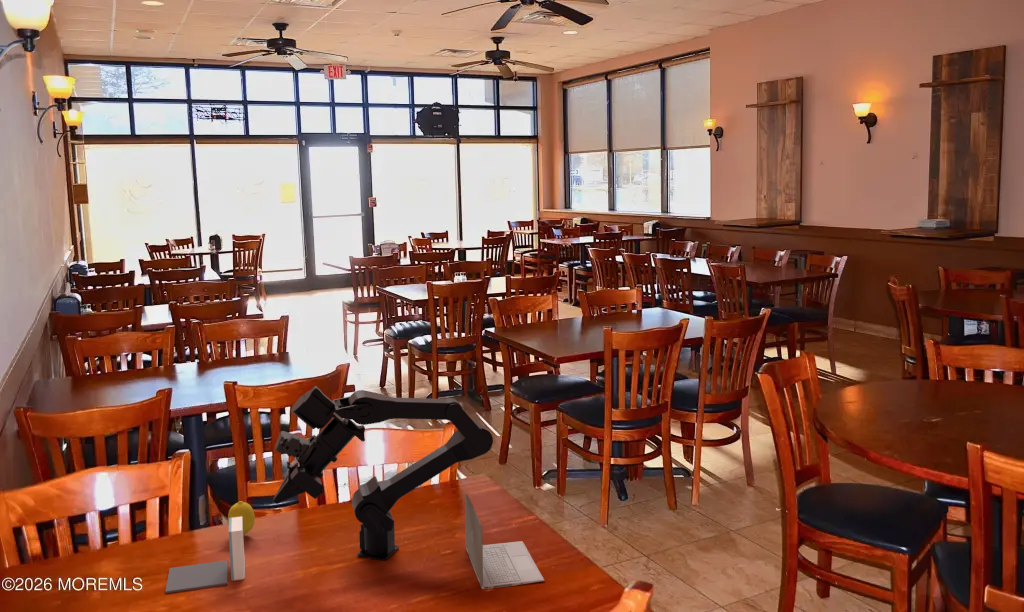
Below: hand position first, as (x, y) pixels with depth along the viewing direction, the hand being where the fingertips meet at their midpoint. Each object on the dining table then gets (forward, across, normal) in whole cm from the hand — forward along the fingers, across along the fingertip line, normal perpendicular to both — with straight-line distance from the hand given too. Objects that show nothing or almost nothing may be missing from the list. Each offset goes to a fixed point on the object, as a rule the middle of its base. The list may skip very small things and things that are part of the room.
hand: (274, 501), depth 163 cm
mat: (+20, 0, -1) cm, 20 cm away
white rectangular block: (+15, 0, +4) cm, 16 cm away
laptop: (-21, +13, +41) cm, 48 cm away
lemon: (+15, -17, +5) cm, 23 cm away
